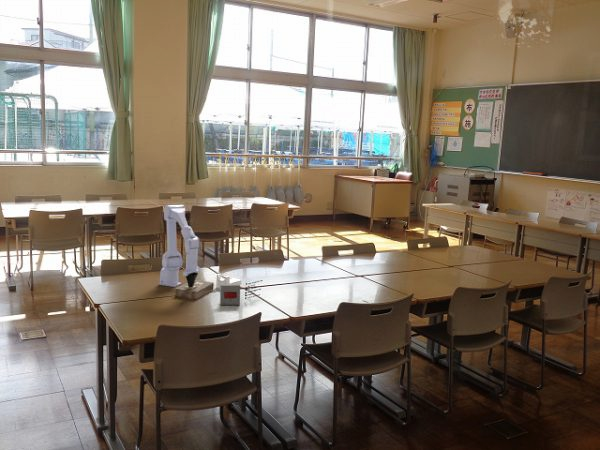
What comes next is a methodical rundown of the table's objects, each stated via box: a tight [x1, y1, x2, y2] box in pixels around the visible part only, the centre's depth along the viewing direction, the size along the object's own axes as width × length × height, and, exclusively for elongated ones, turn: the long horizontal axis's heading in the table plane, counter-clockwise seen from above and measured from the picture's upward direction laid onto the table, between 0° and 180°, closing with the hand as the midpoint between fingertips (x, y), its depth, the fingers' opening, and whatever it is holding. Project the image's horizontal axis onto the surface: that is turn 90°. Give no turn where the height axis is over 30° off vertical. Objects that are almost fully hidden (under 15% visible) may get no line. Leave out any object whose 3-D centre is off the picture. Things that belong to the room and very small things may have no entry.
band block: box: [174, 279, 215, 300], centre depth 293 cm, size 12×20×4 cm, turn 164°
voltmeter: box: [219, 279, 263, 306], centre depth 285 cm, size 27×11×10 cm, turn 141°
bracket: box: [215, 273, 242, 289], centre depth 309 cm, size 13×7×8 cm, turn 148°
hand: (190, 286), depth 288 cm, fingers closed, pressing on peg
